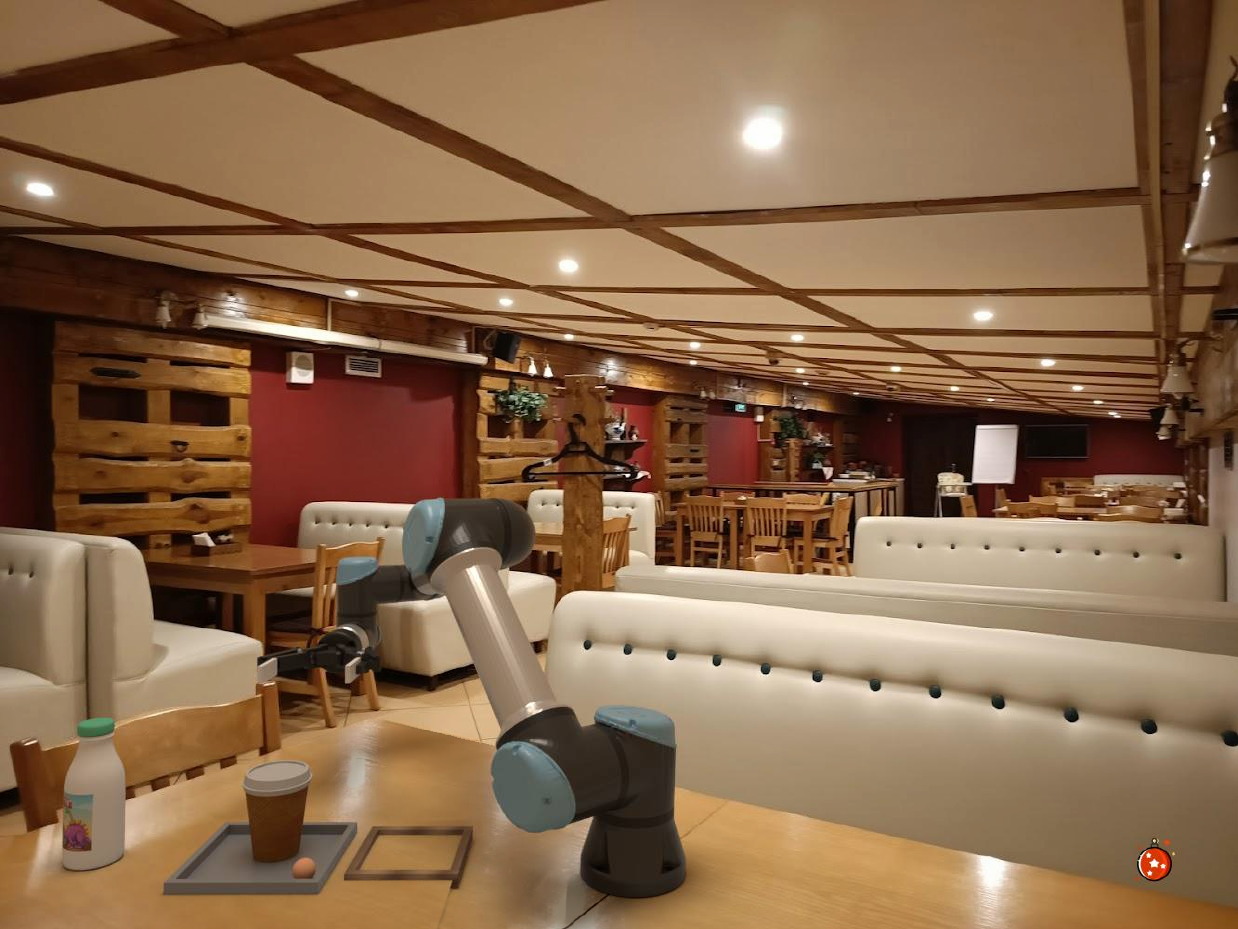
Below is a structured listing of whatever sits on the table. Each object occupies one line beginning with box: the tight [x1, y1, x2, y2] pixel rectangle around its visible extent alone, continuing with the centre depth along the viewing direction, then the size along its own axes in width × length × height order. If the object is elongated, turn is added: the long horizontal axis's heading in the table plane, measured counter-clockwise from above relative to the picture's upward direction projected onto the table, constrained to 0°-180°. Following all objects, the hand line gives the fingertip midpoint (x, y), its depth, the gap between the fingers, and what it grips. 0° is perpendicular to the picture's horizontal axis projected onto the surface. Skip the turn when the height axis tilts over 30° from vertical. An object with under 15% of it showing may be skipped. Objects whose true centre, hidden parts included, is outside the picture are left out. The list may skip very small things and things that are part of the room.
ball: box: [292, 858, 316, 879], centre depth 116 cm, size 3×3×3 cm
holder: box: [343, 825, 474, 890], centre depth 124 cm, size 15×15×2 cm
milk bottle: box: [61, 717, 126, 871], centre depth 123 cm, size 8×8×20 cm
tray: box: [163, 821, 358, 896], centre depth 121 cm, size 20×19×3 cm
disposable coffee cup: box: [241, 759, 313, 862], centre depth 124 cm, size 10×10×12 cm
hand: (303, 675), depth 134 cm, fingers open, 13 cm apart
